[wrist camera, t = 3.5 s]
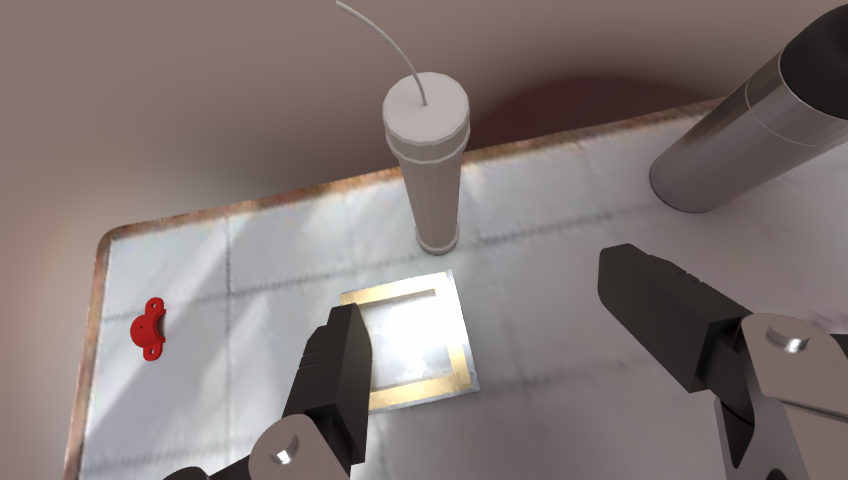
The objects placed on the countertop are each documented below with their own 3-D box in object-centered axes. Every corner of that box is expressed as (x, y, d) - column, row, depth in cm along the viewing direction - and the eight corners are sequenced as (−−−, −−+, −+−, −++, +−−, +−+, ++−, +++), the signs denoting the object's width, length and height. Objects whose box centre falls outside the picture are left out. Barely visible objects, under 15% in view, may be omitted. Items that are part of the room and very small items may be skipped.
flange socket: (451, 270, 40) (451, 261, 35) (479, 389, 35) (484, 396, 30) (344, 294, 40) (330, 287, 35) (359, 415, 35) (345, 426, 30)
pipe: (456, 259, 40) (476, 58, 12) (408, 253, 41) (317, 50, 12) (461, 219, 42) (489, -42, 13) (415, 214, 42) (348, -44, 14)
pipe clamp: (147, 301, 42) (132, 298, 40) (168, 295, 42) (153, 293, 40) (145, 363, 39) (128, 364, 37) (166, 357, 39) (151, 358, 37)
